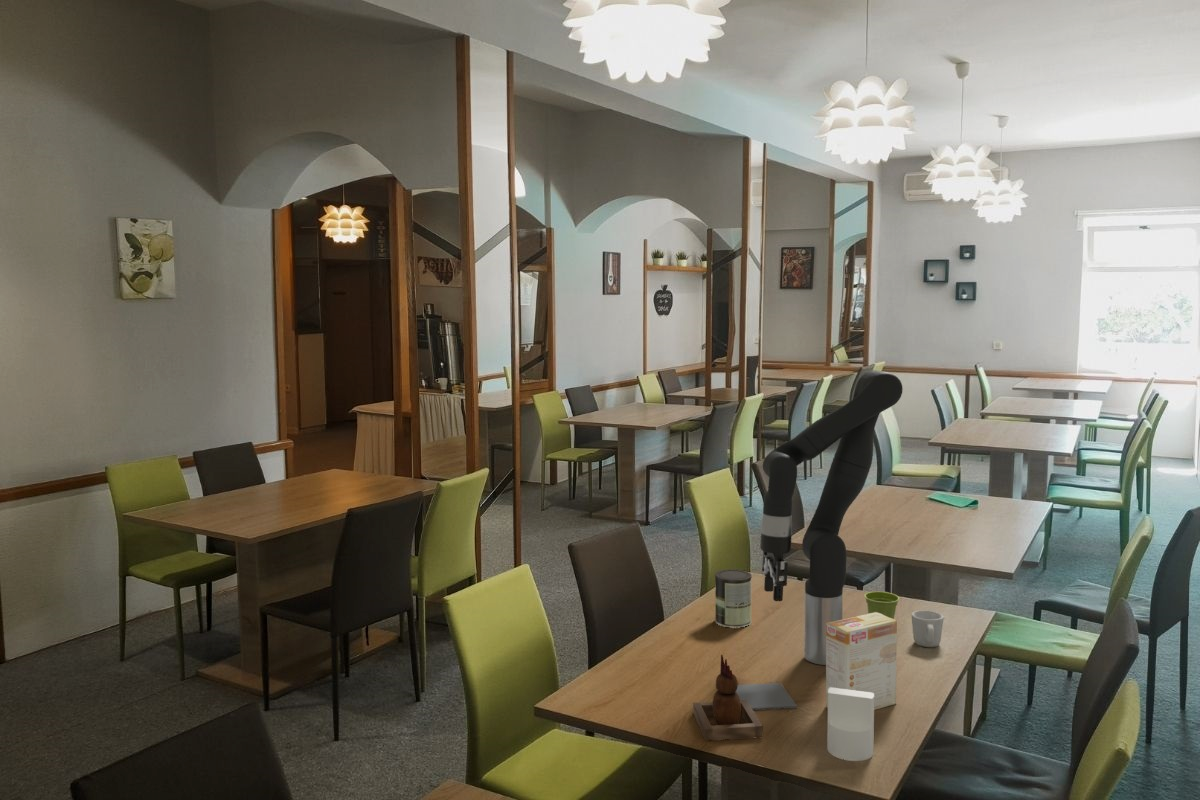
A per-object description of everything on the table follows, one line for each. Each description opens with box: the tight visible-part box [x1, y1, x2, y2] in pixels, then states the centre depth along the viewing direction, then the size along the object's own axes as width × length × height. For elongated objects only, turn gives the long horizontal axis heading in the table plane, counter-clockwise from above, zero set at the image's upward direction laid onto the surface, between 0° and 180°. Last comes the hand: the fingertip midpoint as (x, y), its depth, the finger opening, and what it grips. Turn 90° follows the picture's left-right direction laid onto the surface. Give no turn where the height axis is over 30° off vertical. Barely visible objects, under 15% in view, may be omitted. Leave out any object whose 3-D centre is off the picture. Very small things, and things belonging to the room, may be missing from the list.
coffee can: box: [714, 569, 753, 629], centre depth 261 cm, size 10×10×14 cm
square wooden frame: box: [692, 700, 763, 741], centre depth 197 cm, size 12×13×2 cm
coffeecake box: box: [825, 612, 898, 711], centre depth 205 cm, size 15×7×20 cm, turn 117°
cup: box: [911, 609, 945, 648], centre depth 241 cm, size 11×8×8 cm
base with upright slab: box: [826, 687, 875, 762], centre depth 184 cm, size 9×9×12 cm
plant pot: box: [863, 591, 900, 620], centre depth 256 cm, size 9×9×9 cm
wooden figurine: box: [712, 654, 742, 725], centre depth 196 cm, size 7×6×15 cm
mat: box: [736, 682, 798, 711], centre depth 211 cm, size 13×13×1 cm
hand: (773, 595), depth 230 cm, fingers open, 8 cm apart
